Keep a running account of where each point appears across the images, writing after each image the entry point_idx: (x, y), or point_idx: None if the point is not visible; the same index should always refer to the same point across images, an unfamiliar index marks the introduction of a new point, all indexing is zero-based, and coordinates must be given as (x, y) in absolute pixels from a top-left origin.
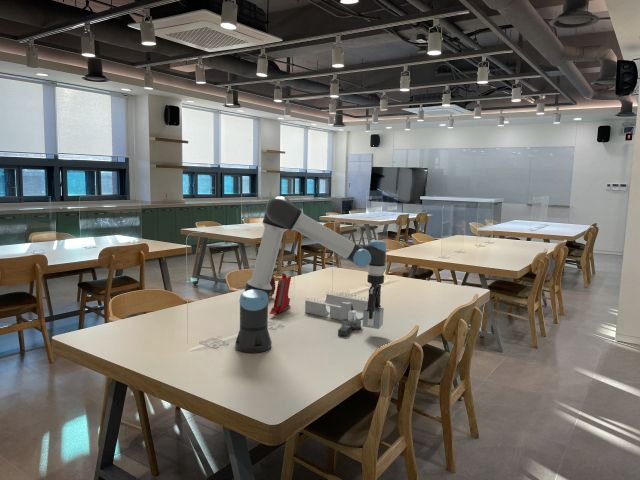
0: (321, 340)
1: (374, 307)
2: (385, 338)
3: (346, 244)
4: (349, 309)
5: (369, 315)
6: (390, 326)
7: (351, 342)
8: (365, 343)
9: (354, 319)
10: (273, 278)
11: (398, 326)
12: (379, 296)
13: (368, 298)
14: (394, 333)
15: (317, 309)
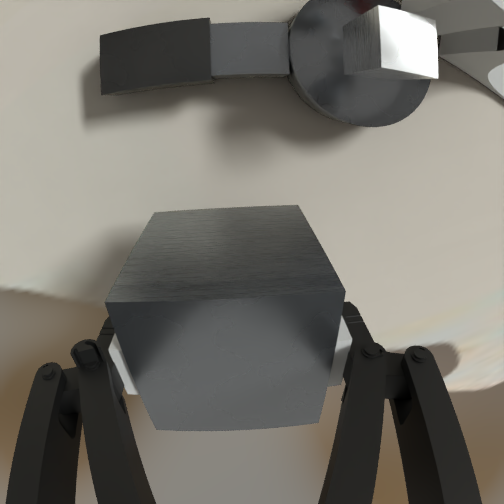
0: (9, 25)
1: (293, 371)
2: None
3: None
4: (461, 16)
5: (100, 339)
6: (436, 277)
7: (48, 173)
8: (78, 245)
9: (366, 74)
10: None
11: (441, 308)
12: (406, 474)
13: (9, 485)
14: None
15: None
